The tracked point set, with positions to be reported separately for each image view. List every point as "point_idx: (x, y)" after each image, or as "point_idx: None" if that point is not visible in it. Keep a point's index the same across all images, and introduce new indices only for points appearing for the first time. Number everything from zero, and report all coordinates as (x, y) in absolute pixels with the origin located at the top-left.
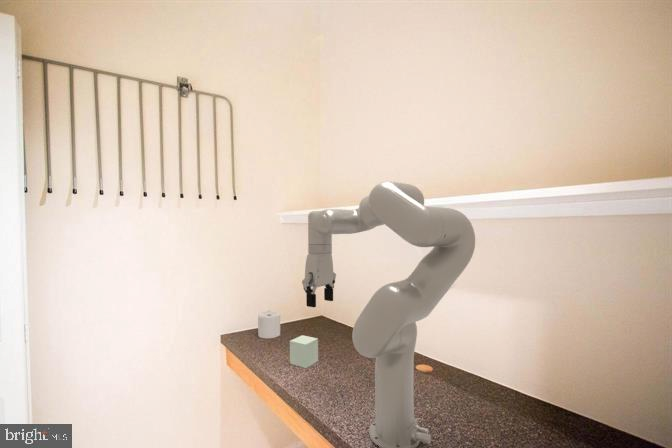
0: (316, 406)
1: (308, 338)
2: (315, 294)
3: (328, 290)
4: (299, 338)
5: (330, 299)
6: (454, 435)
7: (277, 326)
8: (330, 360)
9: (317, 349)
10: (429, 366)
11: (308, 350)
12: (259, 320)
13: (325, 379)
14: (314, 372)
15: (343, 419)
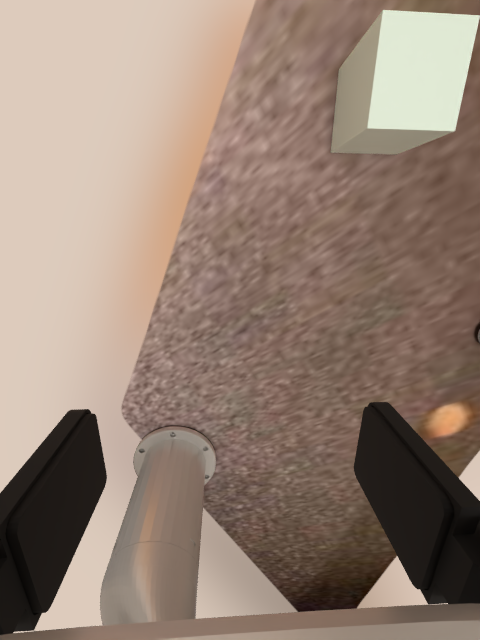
0: (172, 308)
1: (442, 85)
2: (26, 625)
3: (416, 541)
4: (429, 38)
5: (360, 469)
6: (228, 514)
7: None
8: (414, 191)
9: (419, 143)
10: (457, 427)
11: (370, 137)
12: None
13: (292, 252)
14: (316, 197)
15: (166, 376)
